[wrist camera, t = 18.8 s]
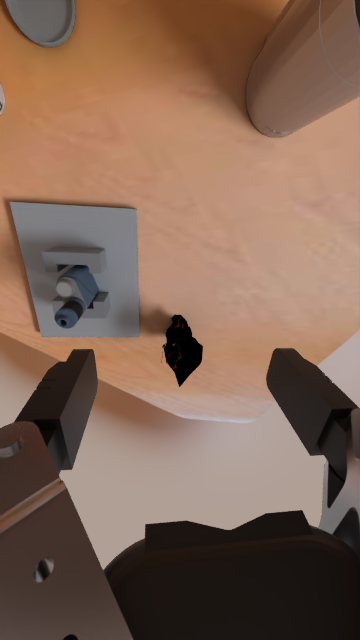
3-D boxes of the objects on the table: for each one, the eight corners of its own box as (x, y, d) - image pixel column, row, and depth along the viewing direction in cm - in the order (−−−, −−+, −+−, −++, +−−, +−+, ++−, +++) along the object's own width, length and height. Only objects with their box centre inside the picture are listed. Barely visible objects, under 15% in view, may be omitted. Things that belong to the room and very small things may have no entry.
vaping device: (85, 297, 36) (56, 335, 25) (70, 265, 34) (31, 292, 23) (101, 293, 36) (79, 329, 25) (87, 260, 34) (56, 285, 23)
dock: (14, 201, 31) (-11, 201, 26) (136, 209, 32) (133, 209, 28) (44, 333, 39) (29, 350, 35) (139, 333, 41) (137, 349, 36)
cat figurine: (168, 305, 39) (173, 342, 29) (204, 317, 41) (221, 356, 30) (154, 339, 42) (154, 384, 31) (188, 349, 44) (200, 395, 33)
